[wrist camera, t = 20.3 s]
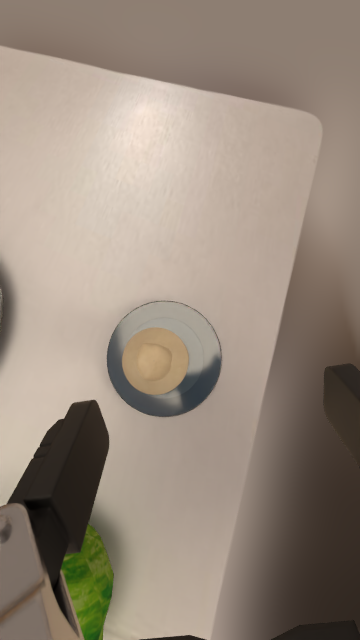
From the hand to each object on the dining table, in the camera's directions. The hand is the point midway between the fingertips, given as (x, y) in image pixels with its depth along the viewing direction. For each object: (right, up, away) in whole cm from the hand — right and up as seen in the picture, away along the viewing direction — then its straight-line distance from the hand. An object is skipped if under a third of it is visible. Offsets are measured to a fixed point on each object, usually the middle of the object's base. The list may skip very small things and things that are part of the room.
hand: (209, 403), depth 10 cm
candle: (-3, -1, +22) cm, 22 cm away
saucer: (-3, -1, +23) cm, 24 cm away
